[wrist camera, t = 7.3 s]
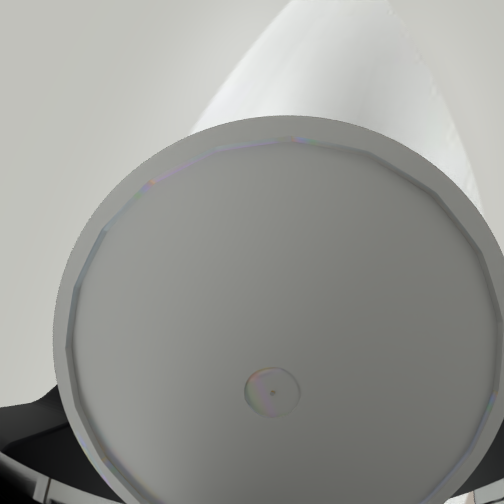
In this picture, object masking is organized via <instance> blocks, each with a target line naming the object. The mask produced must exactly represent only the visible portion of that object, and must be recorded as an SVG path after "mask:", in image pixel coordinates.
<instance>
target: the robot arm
mask: <svg viewBox="0 0 504 504" xmlns="http://www.w3.org/2000/svg"><path fill="white" fill-rule="evenodd" d="M471 491H474V502H475V504H504V418H503V421H502V423H501V426H500V428H499V430H498V432H497V434H496V436H495V438H494V440H493V442H492V444H491V445H490V447H489V449H488V451H487V452H486V454H485V455H484V457H483V458H482V460H481V461H480V463H479V464H478V466H477V467H476V468H475V470H474V471H473V472H472V474H471V475H470V476H469V477H468V479H467V480H466V481H465V482H464V483H463V484H462V486H461V487H460V488H459V489H458V490H457V491H456V492H455V493H454V494H453V495H452V496H451V497H450V498H453V497H456V496H459V495H462V494H465V493H468V492H471ZM450 498H449V499H450ZM0 504H127V503H125V502H124V501H123V500H122V499H121V498H120V497H119V496H118V495H117V494H116V493H115V492H114V491H113V490H112V489H111V488H110V486H109V485H108V484H107V483H106V482H105V481H104V479H103V478H102V477H101V476H100V474H99V473H98V472H97V471H96V469H95V468H94V466H93V465H92V463H91V462H90V461H89V459H88V457H87V456H86V454H85V453H84V451H83V449H82V448H81V446H80V444H79V442H78V440H77V438H76V436H75V434H74V432H73V430H72V428H71V425H70V423H69V421H68V418H67V415H66V413H65V410H64V407H63V404H62V400H61V397H60V393H59V389H58V384H57V385H56V386H55V387H54V388H53V389H51V390H50V391H49V392H48V393H47V394H46V395H45V396H43V397H42V398H40V399H39V400H37V401H34V402H32V403H27V404H21V405H15V406H9V407H1V408H0Z"/></svg>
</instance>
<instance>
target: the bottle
mask: <svg viewBox="0 0 504 504" xmlns="http://www.w3.org/2000/svg"><path fill="white" fill-rule="evenodd" d="M53 356H54V367H55V373H56V379H57V384H58V389H59V393H60V397H61V400H62V404H63V407H64V410H65V413H66V415H67V418H68V421H69V423H70V425H71V428H72V430H73V432H74V434H75V436H76V438H77V440H78V442H79V444H80V446H81V448H82V449H83V451H84V453H85V454H86V456H87V457H88V459H89V461H90V462H91V463H92V465H93V466H94V468H95V469H96V471H97V472H98V473H99V474H100V476H101V477H102V478H103V479H104V481H105V482H106V483H107V484H108V485H109V486H110V488H111V489H112V490H113V491H114V492H115V493H116V494H117V495H118V496H119V497H120V498H121V499H122V500H123V501H124V502H125V503H127V504H444V503H445V502H446V501H447V500H448V499H449V498H450V497H451V496H452V495H453V494H454V493H455V492H456V491H457V490H458V489H459V488H460V487H461V486H462V484H463V483H464V482H465V481H466V480H467V479H468V477H469V476H470V475H471V474H472V472H473V471H474V470H475V468H476V467H477V466H478V464H479V463H480V461H481V460H482V458H483V457H484V455H485V454H486V452H487V451H488V449H489V447H490V445H491V444H492V442H493V440H494V438H495V436H496V434H497V432H498V430H499V428H500V426H501V423H502V421H503V418H504V256H503V254H502V252H501V249H500V247H499V245H498V243H497V241H496V239H495V237H494V235H493V233H492V232H491V230H490V228H489V226H488V225H487V223H486V222H485V220H484V218H483V217H482V215H481V214H480V213H479V211H478V210H477V208H476V207H475V206H474V205H473V203H472V202H471V201H470V200H469V198H468V197H467V196H466V195H465V194H464V193H463V192H462V190H461V189H460V188H459V187H458V186H457V185H456V184H455V183H454V182H453V181H452V180H451V179H450V178H449V177H447V176H446V175H445V174H444V173H443V172H442V171H441V170H439V169H438V168H437V167H436V166H434V165H433V164H432V163H431V162H429V161H428V160H426V159H425V158H424V157H422V156H421V155H419V154H418V153H416V152H414V151H413V150H411V149H409V148H408V147H406V146H404V145H402V144H400V143H399V142H397V141H395V140H393V139H390V138H388V137H386V136H384V135H382V134H379V133H377V132H374V131H371V130H369V129H366V128H363V127H360V126H356V125H353V124H349V123H345V122H341V121H337V120H331V119H325V118H318V117H309V116H266V117H256V118H249V119H243V120H238V121H233V122H229V123H225V124H222V125H218V126H215V127H212V128H209V129H206V130H203V131H200V132H198V133H195V134H193V135H190V136H188V137H186V138H184V139H182V140H180V141H178V142H176V143H174V144H172V145H170V146H168V147H166V148H165V149H163V150H161V151H160V152H158V153H157V154H155V155H154V156H152V157H151V158H149V159H148V160H146V161H145V162H143V163H142V164H141V165H140V166H138V167H137V168H136V169H135V170H133V171H132V172H131V173H130V174H129V175H128V176H126V177H125V178H124V179H123V180H122V181H121V182H120V183H119V184H118V185H117V186H116V187H115V188H114V189H113V190H112V191H111V192H110V194H109V195H108V196H107V197H106V198H105V199H104V200H103V202H102V203H101V204H100V205H99V207H98V208H97V209H96V211H95V212H94V213H93V215H92V216H91V218H90V219H89V221H88V222H87V224H86V226H85V227H84V229H83V231H82V232H81V234H80V236H79V238H78V240H77V241H76V244H75V246H74V248H73V250H72V252H71V254H70V257H69V259H68V262H67V264H66V267H65V270H64V273H63V276H62V279H61V283H60V287H59V291H58V295H57V300H56V307H55V313H54V323H53Z"/></svg>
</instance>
